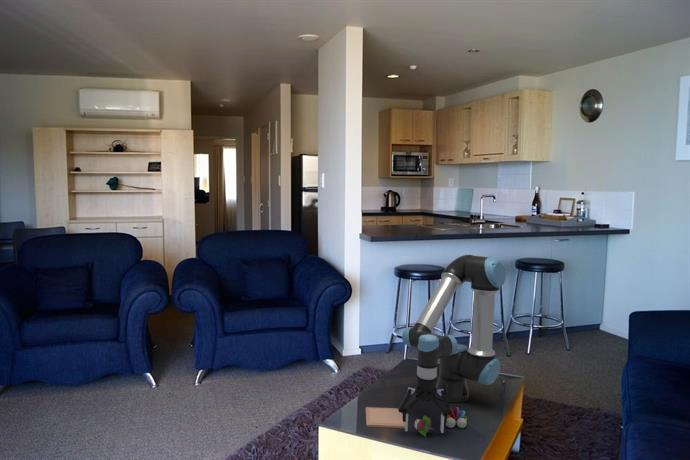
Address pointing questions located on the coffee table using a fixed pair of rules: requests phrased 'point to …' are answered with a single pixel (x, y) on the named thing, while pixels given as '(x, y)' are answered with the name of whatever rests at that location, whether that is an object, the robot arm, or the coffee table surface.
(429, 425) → the geometric puzzle
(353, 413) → the coffee table surface
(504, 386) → the coffee table surface
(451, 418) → the colourful small pieces
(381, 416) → the tile
